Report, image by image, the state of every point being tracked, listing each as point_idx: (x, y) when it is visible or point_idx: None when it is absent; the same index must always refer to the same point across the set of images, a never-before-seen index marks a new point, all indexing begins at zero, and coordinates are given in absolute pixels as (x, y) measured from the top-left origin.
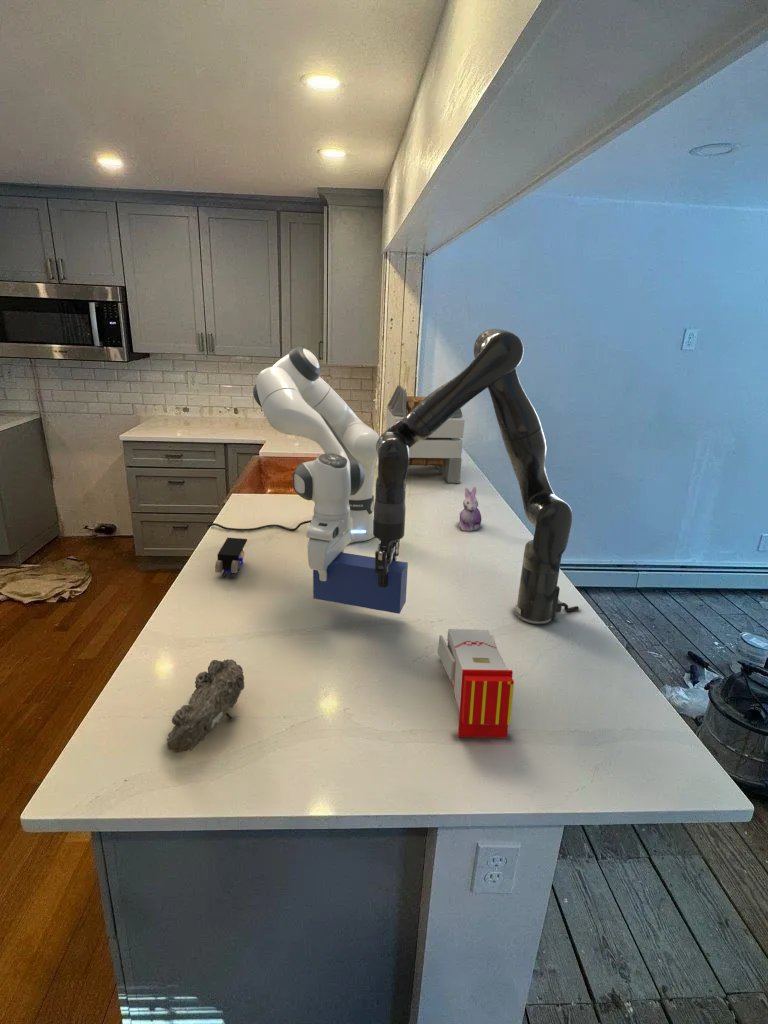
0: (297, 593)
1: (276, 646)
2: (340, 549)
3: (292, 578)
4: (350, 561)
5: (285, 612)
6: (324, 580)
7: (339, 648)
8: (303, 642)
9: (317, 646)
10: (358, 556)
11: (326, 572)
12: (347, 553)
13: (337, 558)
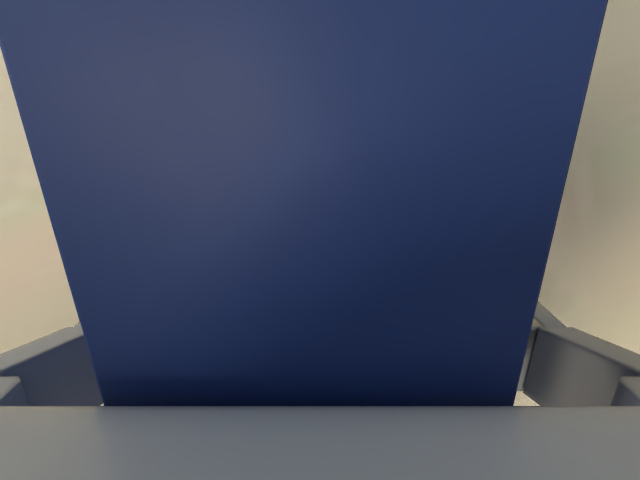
0: None
1: (628, 295)
2: (164, 470)
3: None
4: (414, 105)
5: None
6: None
7: (627, 42)
8: (591, 216)
9: (617, 149)
10: (79, 10)
11: (595, 345)
12: (80, 291)
13: (362, 368)
